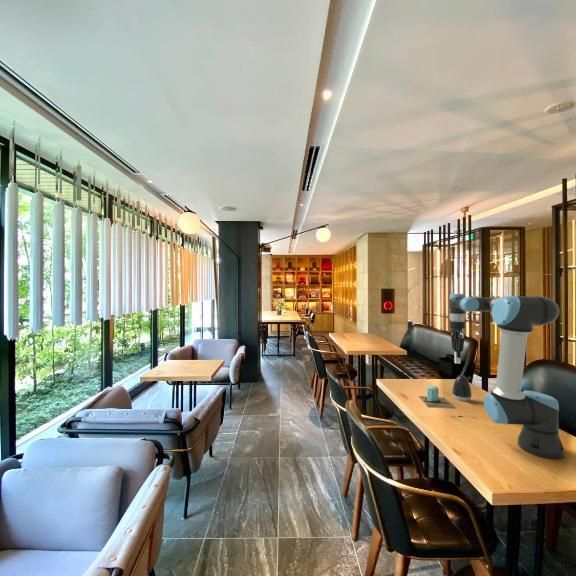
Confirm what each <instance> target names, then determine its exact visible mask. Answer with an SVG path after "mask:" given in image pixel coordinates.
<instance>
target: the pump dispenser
mask: <svg viewBox="0 0 576 576" xmlns="http://www.w3.org/2000/svg"><path fill="white" fill-rule="evenodd" d="M471 379H472V377H471V376H467V377H466V376H465V375H459V374H458V375H457V377H456V378H455V380H454V382H453V386H452V391H451V392H452V396H453V398H454V399H455V400H457V401H460V402H469V401H470V400H471V398H472V387H471V385H470V381H469V380H471Z"/></svg>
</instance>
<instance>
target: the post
mask: <svg viewBox="0 0 576 576" xmlns="http://www.w3.org/2000/svg"><path fill="white" fill-rule="evenodd" d="M425 397H426V398H425V400H426V401H427V402H430V403H440V399H439V400H438V401H431V400H428V399H427V396H425Z"/></svg>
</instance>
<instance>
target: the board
mask: <svg viewBox="0 0 576 576" xmlns="http://www.w3.org/2000/svg"><path fill="white" fill-rule="evenodd" d="M418 397H419V399H420V400H421V401H422V402H423V403H424V404H425V405H426V407H427V408H431V409H432V408H433V409H451V410H452V409H453V410H457V408H456V407H455V406H454V405H453V404H452V403H451V402H450V401H449V400H447V399H446V398H445V397H443V396H441V397H439V399H440V403H430V402H427V401H426V400H425V398H426V397H427V396H426V395H425V396H424V395H423V396H421V395H420V396H418Z"/></svg>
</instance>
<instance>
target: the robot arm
mask: <svg viewBox="0 0 576 576" xmlns="http://www.w3.org/2000/svg"><path fill="white" fill-rule="evenodd" d="M448 302H449V328H451V331H450V332H449V334H450V338H451V339H450V340H451V349H452V350H453V351H454V364H458V365H459V364H462V363H461V362H462V359H461V358H462V352H464V347H465V346H464V345H465V338H466V334H464V332H463V329H465V328H466V322H465V320H466V319H465V318H466V312H467V313H468V312H471V313H472V312H487V313H488V312H490V313H491V317H492V321H493V322H494V323H495V324H496V325H497V328H498V330H499V331H500V340H499V341H500V342H499V353H498V360H497V361H498V362H497V372H496V374H497V375H496V381H495V382H496V383H495V384H494V386H492V387H491V390H490V393H487V394H485V395H484V396H483V407H484V410H485V412H486V414H487V416H488V418H490V420H491V421H492V422H494V423H495V424H499V425H519V426H522V428H521V430H520V433H519V435H518V437H517V445H518V447H520V448H521V449H522V450H523V451H525V452H527V453H529V454H532V455H535V456H538V457H542V458H545V459H552V460H553V459H554V460H559V459H560V460H561V459H563V458H564V457H565V449H564V445H563V443H562V441H561V438H560V435H559V433H560V432H559V423H560V421H559V419H560V417H559V415H560V408H559V401H558V399H556V398H555V397H553V396H551V395H548V394H545V393H542V392H538V391H533V390H523V391H522V386H523V378H524V367H525V358H526V349H527V341H528V340H527V339H528V335H530V334H531V333H533V332H534V331H533V330H534V326H545V325H550V324H553V322H555V321H556V320H557V319H558V317H559V315H560V308H559V305H558V304H557V302H555V300H553V299H552V298H549V297H545V296H539V295H538V296H532V295H531V296H528V295H526V296H523V295H522V296H521V295H510V296H507V295H506V296H501V297H497V296H494V297H488V296H487V297H486V296H485V297H481V296H479V297H478V296H476V297H474V296H473V297H472V296H465V294H464V293H451V294H450V295H449V300H448Z"/></svg>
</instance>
